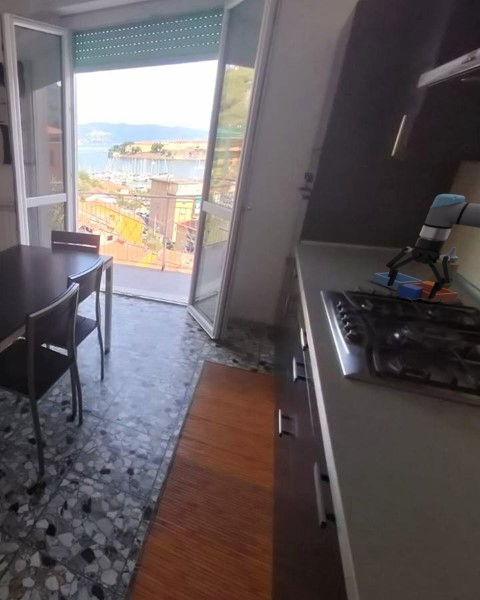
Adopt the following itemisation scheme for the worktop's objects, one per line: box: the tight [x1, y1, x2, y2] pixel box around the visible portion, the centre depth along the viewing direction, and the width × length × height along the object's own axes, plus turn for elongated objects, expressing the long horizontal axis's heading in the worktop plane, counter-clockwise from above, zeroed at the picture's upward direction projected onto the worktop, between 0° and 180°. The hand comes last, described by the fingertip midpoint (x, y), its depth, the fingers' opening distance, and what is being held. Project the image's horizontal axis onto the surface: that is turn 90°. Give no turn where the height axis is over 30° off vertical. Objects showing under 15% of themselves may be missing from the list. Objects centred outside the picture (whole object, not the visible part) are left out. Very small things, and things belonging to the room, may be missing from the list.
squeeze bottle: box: [426, 246, 460, 290], centre depth 144 cm, size 8×8×18 cm
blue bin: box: [371, 272, 424, 292], centre depth 152 cm, size 11×11×4 cm
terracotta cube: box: [419, 280, 440, 294], centre depth 140 cm, size 5×5×5 cm
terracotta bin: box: [404, 283, 459, 303], centre depth 140 cm, size 11×11×4 cm
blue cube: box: [397, 284, 424, 299], centre depth 138 cm, size 5×5×5 cm
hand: (409, 291), depth 139 cm, fingers open, 13 cm apart
